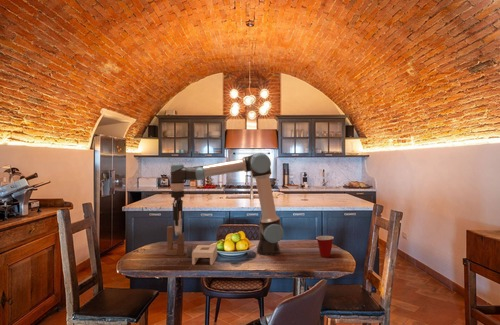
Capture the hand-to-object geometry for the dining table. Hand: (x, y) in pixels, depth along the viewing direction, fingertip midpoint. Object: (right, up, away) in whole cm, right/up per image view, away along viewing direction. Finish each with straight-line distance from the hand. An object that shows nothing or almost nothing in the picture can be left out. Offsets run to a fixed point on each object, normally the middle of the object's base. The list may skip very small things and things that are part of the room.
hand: (178, 230), depth 188 cm
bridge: (+15, -19, +4) cm, 25 cm away
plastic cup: (+89, -19, +11) cm, 91 cm away
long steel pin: (0, -3, 0) cm, 3 cm away
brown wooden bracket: (-5, -19, +16) cm, 25 cm away
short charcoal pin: (+5, -19, +12) cm, 23 cm away
